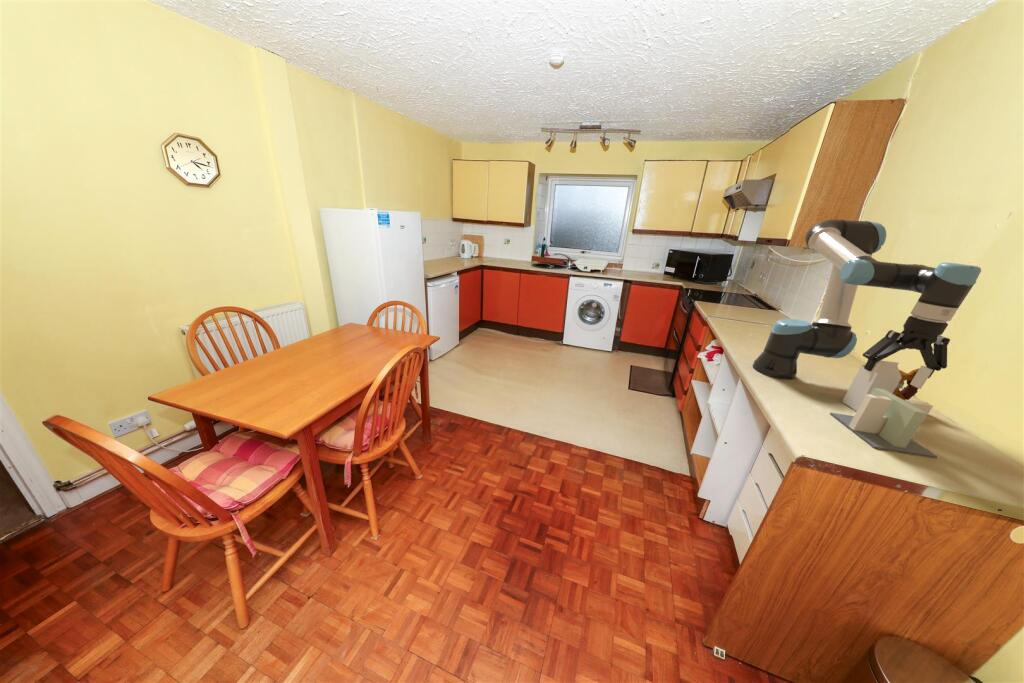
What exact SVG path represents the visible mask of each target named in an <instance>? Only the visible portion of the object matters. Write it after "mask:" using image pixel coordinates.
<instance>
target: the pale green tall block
mask: <svg viewBox="0 0 1024 683" xmlns="http://www.w3.org/2000/svg"><path fill="white" fill-rule="evenodd" d="M870 395H877V396H884V397H888V398H890V399H892V400H893V401H892V403H891V405H890V406H889V408H888V410H887V411H886V413H885V415H884V416H885V417H886V418H888V421H887V422H886V424H885V426H884V427H883V429H882V431H881V432H880V434H879V436H881V437H882V438H883V439H885V440H886V441H888V442H889V443H890V444H892V445H893V446H897V447H903V448H906V446H907V445H908V443H909V442H910V440H911V438H912V437H913V438H914V436H915V435H916V433H917V432H918V430H919V429H918V428H920V427H921V425H922V424H923V423H924V421H925V419H926V418H927V416H928V415H927V414H929V413H926V412H924V411H922V410H921V409H919V408H917V407H915V406H913V405H912V404H910V403H908V402H906V401H904V400H903V399H901V398H899V397H897V396H895V395H894V394H892V393H890V392H888V391H887V390H885V389H879V388H873V390H872V392H871V393H870ZM925 417H926V418H925ZM923 420H924V421H923ZM921 423H922V424H921ZM919 426H920V427H919ZM917 429H918V430H917ZM916 431H917V432H916ZM915 432H916V433H915ZM914 434H915V435H914ZM913 435H914V436H913ZM913 438H912V439H913Z"/></svg>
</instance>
